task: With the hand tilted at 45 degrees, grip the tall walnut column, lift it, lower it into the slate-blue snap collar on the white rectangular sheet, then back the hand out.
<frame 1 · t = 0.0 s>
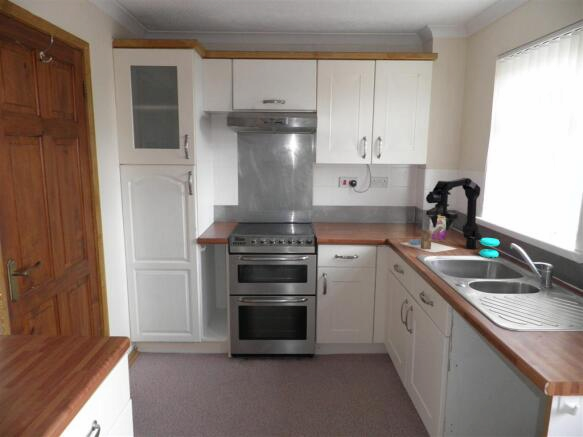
hand: (440, 228, 234), 15 cm above the worktop, tool pointing down, fingers open, 9 cm apart
candy bar box: (436, 239, 276), on the worktop
white rectangular sheet: (427, 247, 250), on the worktop
pair of cyan ovals: (488, 256, 230), on the worktop
walnut column: (425, 248, 243), point 1 cm above the worktop, touching white rectangular sheet
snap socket: (416, 244, 255), resting on white rectangular sheet
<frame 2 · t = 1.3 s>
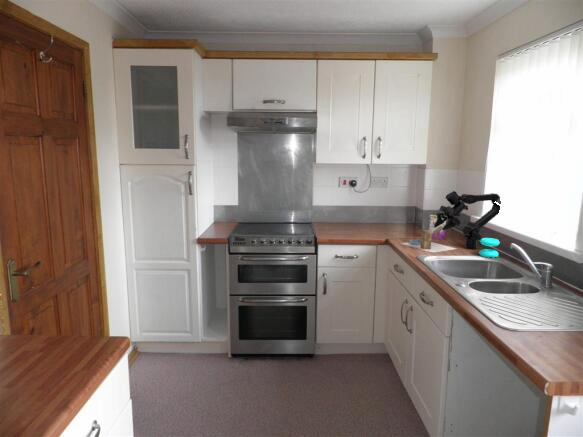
hand: (438, 228, 243), 13 cm above the worktop, tool tilted 45°, fingers open, 9 cm apart
nothing on the worktop moved.
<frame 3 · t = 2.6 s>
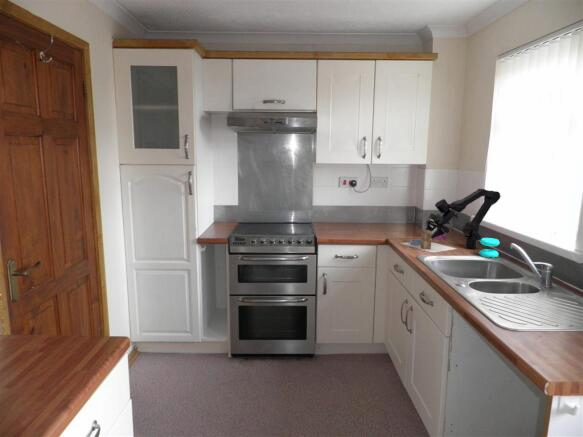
hand: (427, 236, 242), 9 cm above the worktop, tool tilted 45°, fingers open, 9 cm apart
nothing on the worktop moved.
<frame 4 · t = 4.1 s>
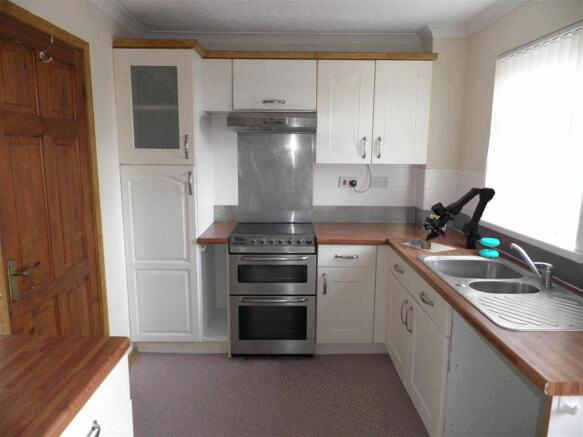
hand: (424, 239, 242), 7 cm above the worktop, tool tilted 45°, fingers closed on walnut column, 4 cm apart
walnut column: (425, 248, 243), point 1 cm above the worktop, touching white rectangular sheet, gripper
everything else where it was.
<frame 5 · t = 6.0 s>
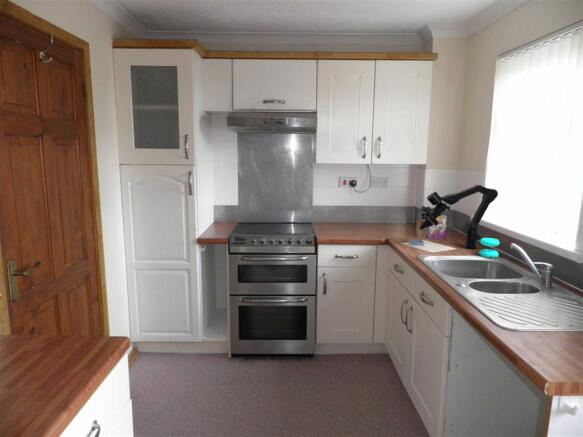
hand: (419, 228, 247), 13 cm above the worktop, tool tilted 45°, fingers closed on walnut column, 4 cm apart
walnut column: (420, 236, 248), point 7 cm above the worktop, touching gripper
everything else where it was.
when the fingers open (7 cm above the worktop, at t = 8.1 s): walnut column stays where it is, resting on white rectangular sheet.
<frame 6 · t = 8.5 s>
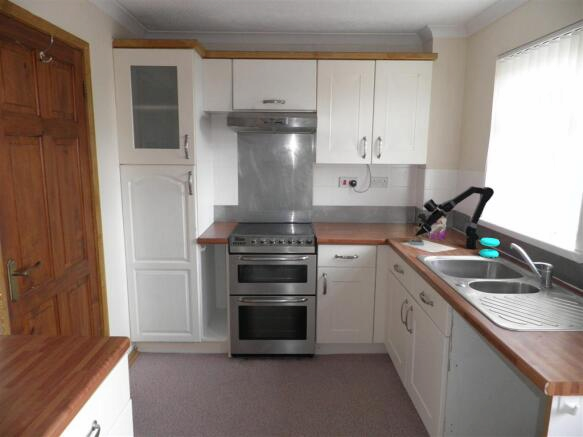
hand: (415, 234, 254), 8 cm above the worktop, tool tilted 45°, fingers open, 9 cm apart
walnut column: (416, 244, 255), point 1 cm above the worktop, touching white rectangular sheet
everything else where it was.
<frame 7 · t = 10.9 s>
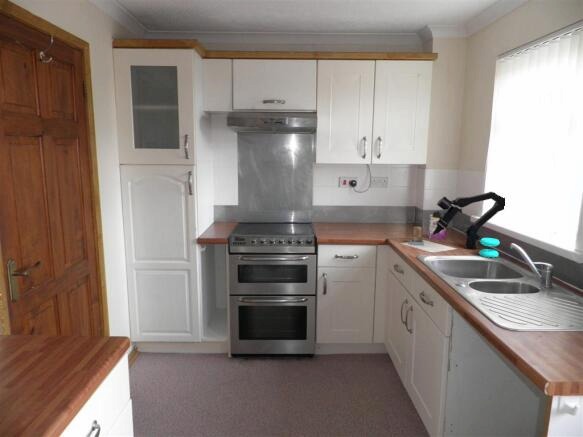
hand: (433, 234, 251), 8 cm above the worktop, tool tilted 35°, fingers open, 9 cm apart
nothing on the worktop moved.
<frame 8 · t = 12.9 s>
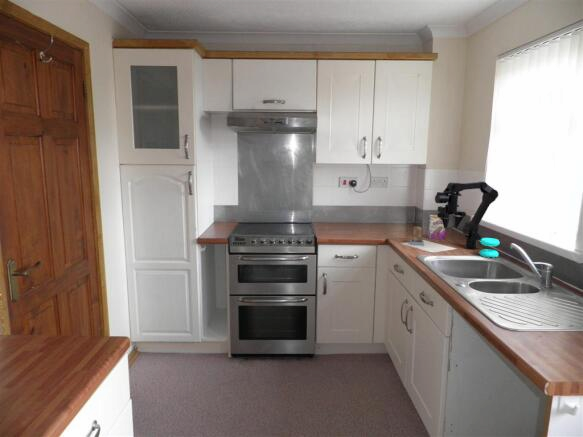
hand: (450, 228, 245), 13 cm above the worktop, tool pointing down, fingers open, 9 cm apart
nothing on the worktop moved.
at the end: walnut column 0.1 cm off-centre on the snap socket, point 0.0 cm above the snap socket's base; walnut column tilted 0°; the gripper is holding nothing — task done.
